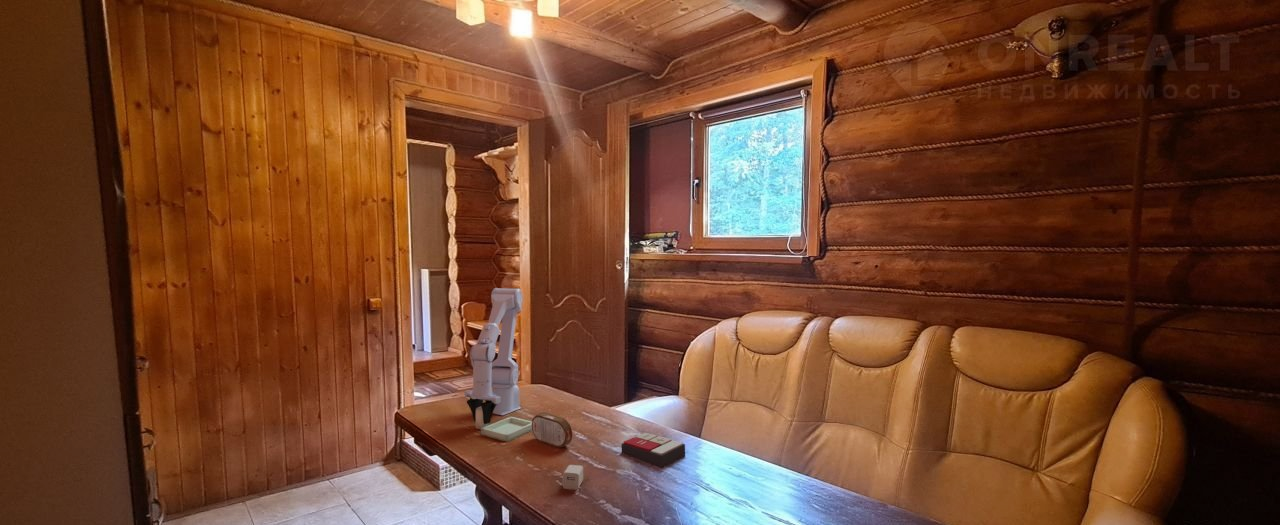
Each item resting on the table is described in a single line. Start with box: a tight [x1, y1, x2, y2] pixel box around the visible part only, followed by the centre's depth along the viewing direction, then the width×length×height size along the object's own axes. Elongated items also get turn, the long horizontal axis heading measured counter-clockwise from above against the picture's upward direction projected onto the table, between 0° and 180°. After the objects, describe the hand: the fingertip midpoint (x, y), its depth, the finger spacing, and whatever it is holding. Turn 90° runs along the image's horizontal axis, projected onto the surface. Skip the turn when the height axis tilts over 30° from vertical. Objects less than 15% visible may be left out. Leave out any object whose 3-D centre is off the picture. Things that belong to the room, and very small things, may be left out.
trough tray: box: [480, 416, 533, 443], centre depth 154 cm, size 13×11×2 cm
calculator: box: [621, 432, 686, 469], centre depth 138 cm, size 11×4×15 cm
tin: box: [531, 411, 573, 448], centre depth 145 cm, size 15×3×8 cm, turn 55°
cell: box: [475, 406, 489, 430], centre depth 158 cm, size 4×4×6 cm
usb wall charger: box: [562, 464, 584, 491], centre depth 120 cm, size 4×7×4 cm, turn 172°
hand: (482, 421), depth 158 cm, fingers closed on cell, 4 cm apart
